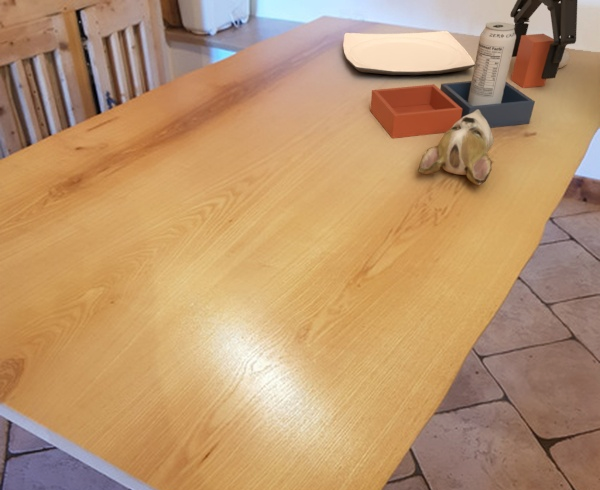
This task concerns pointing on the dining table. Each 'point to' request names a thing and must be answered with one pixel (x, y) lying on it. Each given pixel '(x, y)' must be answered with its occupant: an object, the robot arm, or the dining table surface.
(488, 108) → the slate bin
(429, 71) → the plate
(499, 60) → the energy drink can
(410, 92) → the clay bin
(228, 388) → the dining table surface
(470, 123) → the ceramic sculpture
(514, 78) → the terracotta block
